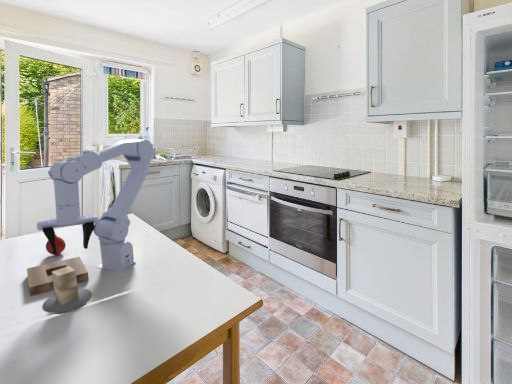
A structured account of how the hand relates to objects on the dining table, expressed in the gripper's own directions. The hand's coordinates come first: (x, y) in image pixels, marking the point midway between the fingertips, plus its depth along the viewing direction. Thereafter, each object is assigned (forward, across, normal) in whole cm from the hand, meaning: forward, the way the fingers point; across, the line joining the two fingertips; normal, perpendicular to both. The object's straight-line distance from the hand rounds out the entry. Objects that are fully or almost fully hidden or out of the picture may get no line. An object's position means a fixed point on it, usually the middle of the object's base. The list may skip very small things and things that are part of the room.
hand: (70, 250), depth 86 cm
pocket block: (+10, +3, -6) cm, 12 cm away
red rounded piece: (+10, +1, -26) cm, 28 cm away
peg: (+10, +3, +9) cm, 14 cm away
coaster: (+11, +2, +10) cm, 15 cm away
